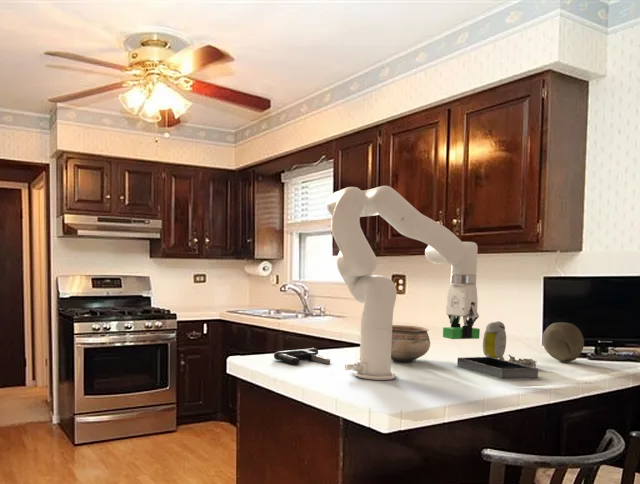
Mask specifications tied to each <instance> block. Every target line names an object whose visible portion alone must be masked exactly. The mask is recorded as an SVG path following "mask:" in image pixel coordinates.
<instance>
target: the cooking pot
mask: <svg viewBox="0 0 640 484" xmlns="http://www.w3.org/2000/svg"><path fill="white" fill-rule="evenodd" d="M429 330H430V329H429V328H427V327H423V326H418V325H417V326H416V325H405V324H404V325H401V324H392V345H391V360H392V361H394V362H397V363H411V362H413V361H416V360H417V359H419V358H421V357H423V356H425V355H426V354H427V353H428V352H429V350H430V348H431V339H430V336H429V333H428V331H429Z"/></svg>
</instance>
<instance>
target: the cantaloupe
mask: <svg viewBox="0 0 640 484" xmlns="http://www.w3.org/2000/svg"><path fill="white" fill-rule="evenodd" d="M542 344H543V348H544V350H545V352H546V353H547V354H548V355H549V356H550V357H552V358H553V359H555V360H557V361H559V362H562V363H570V362H574V361H575V360H577V359H578V358H579V357H580V356H581V354H582V352H583V350H584V346H585V338H584V335H583V334H582V332H581V329H579V328H578V327H577V326H576V325H575V324H573V323H569V322H553V323H551V324H550V325H548V326H547V327H546V329H545V330H544V331H543V333H542Z"/></svg>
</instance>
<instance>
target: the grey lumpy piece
mask: <svg viewBox="0 0 640 484" xmlns="http://www.w3.org/2000/svg"><path fill="white" fill-rule="evenodd" d="M508 357H509V359H508V361H509V362H514V363H518V364H522V365H526V366H530V367H534V368H537V364H536V363H537V361H536V360H533V359H532V358H523V359H521V357H519V358H518V359H516V358H515V356H513V355H511V354H508Z"/></svg>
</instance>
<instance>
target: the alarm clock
mask: <svg viewBox="0 0 640 484" xmlns="http://www.w3.org/2000/svg"><path fill="white" fill-rule="evenodd" d="M482 337H483V338H482V351H483V355H484V357H493V358H497V359H501V360H505V357H504V355H505V351H506V348H507V331H506V326H505V324H504V323H503V322H502V321H500V320H498V321H492V322H489V323H488V324H487V325H486V326H485V330H484V333H483V336H482Z"/></svg>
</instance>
